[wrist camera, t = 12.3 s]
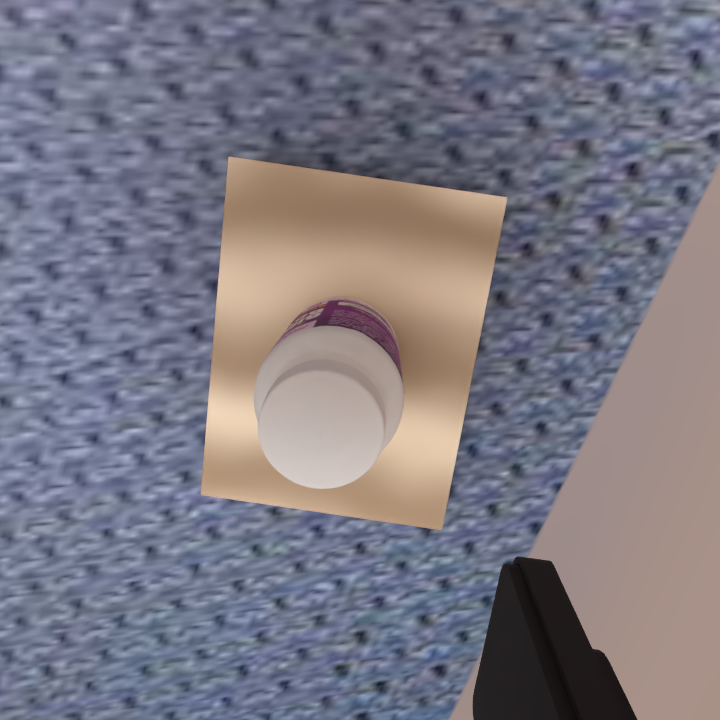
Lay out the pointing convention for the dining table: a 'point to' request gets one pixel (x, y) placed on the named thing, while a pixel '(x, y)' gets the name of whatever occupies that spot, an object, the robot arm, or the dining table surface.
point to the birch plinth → (362, 282)
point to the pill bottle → (330, 394)
